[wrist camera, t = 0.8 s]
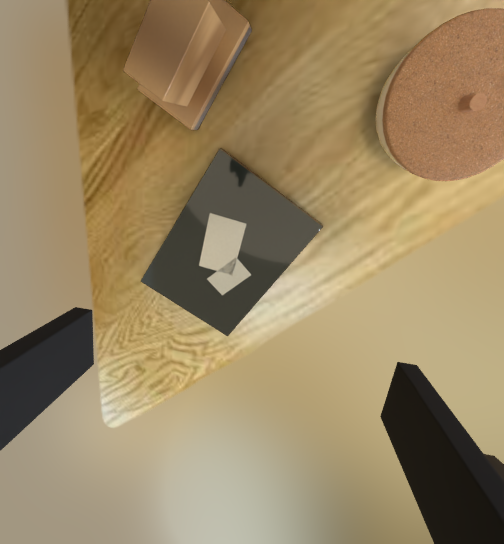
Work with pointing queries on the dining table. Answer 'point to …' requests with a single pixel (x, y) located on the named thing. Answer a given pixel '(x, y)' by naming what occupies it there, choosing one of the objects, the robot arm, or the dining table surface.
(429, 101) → the trinket box
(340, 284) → the dining table surface
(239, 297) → the slate board
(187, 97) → the wooden stepped block
